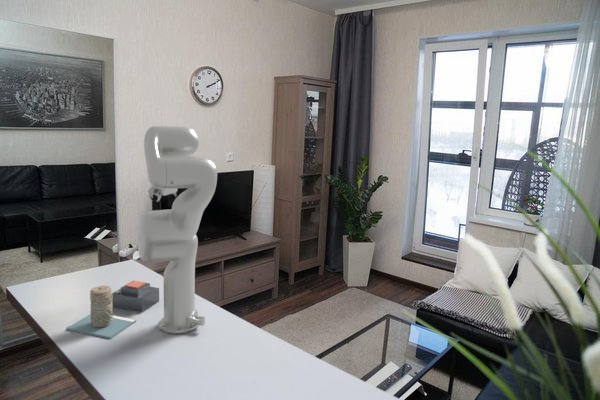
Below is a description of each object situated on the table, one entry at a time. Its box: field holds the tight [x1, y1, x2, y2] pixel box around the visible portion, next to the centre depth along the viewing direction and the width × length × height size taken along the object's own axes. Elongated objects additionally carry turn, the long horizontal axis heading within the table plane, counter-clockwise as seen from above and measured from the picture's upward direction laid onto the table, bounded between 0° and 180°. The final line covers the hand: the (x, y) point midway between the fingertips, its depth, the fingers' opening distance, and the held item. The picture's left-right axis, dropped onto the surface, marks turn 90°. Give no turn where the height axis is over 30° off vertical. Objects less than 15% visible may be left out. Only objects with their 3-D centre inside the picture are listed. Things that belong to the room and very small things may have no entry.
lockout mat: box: [66, 313, 137, 340], centre depth 136 cm, size 16×12×1 cm
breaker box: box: [112, 280, 160, 314], centre depth 151 cm, size 12×10×7 cm
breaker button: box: [125, 280, 146, 289], centre depth 151 cm, size 5×5×2 cm
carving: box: [89, 285, 114, 328], centre depth 134 cm, size 6×8×12 cm
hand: (164, 209), depth 156 cm, fingers open, 9 cm apart
